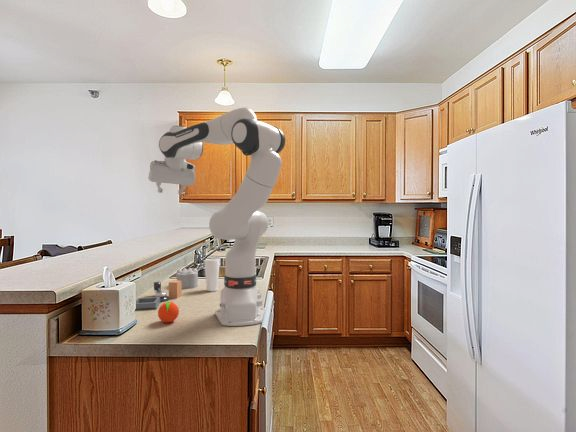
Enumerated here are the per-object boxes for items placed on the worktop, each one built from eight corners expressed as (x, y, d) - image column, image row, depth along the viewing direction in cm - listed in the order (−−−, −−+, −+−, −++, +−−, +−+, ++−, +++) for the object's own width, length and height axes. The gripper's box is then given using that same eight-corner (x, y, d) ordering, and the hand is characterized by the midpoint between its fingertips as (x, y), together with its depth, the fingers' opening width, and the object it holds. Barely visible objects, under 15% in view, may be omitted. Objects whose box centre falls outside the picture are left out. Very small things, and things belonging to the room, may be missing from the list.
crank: (167, 297, 148) (167, 286, 148) (156, 298, 146) (156, 287, 146) (161, 291, 159) (161, 281, 159) (151, 292, 157) (151, 282, 157)
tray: (155, 309, 136) (155, 302, 136) (131, 310, 134) (131, 303, 134) (160, 302, 145) (160, 297, 144) (137, 304, 143) (137, 298, 143)
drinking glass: (213, 288, 171) (213, 257, 171) (222, 290, 167) (222, 259, 166) (202, 290, 166) (201, 259, 166) (211, 292, 162) (210, 260, 161)
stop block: (177, 298, 152) (177, 282, 152) (168, 298, 153) (168, 282, 152) (181, 296, 156) (181, 280, 156) (173, 295, 157) (173, 280, 156)
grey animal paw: (176, 289, 169) (176, 271, 169) (177, 283, 182) (176, 267, 181) (198, 287, 172) (198, 270, 172) (197, 282, 185) (197, 266, 184)
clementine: (178, 325, 117) (178, 304, 117) (156, 327, 115) (156, 306, 115) (179, 318, 125) (179, 298, 124) (159, 319, 123) (158, 299, 123)
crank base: (167, 301, 146) (167, 298, 146) (152, 302, 145) (152, 299, 145) (169, 298, 152) (169, 295, 152) (155, 298, 151) (155, 296, 151)
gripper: (153, 160, 144) (149, 193, 147) (198, 166, 158) (194, 196, 160) (148, 158, 149) (144, 189, 151) (192, 164, 162) (188, 193, 165)
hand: (170, 193), depth 156 cm, fingers open, 8 cm apart
